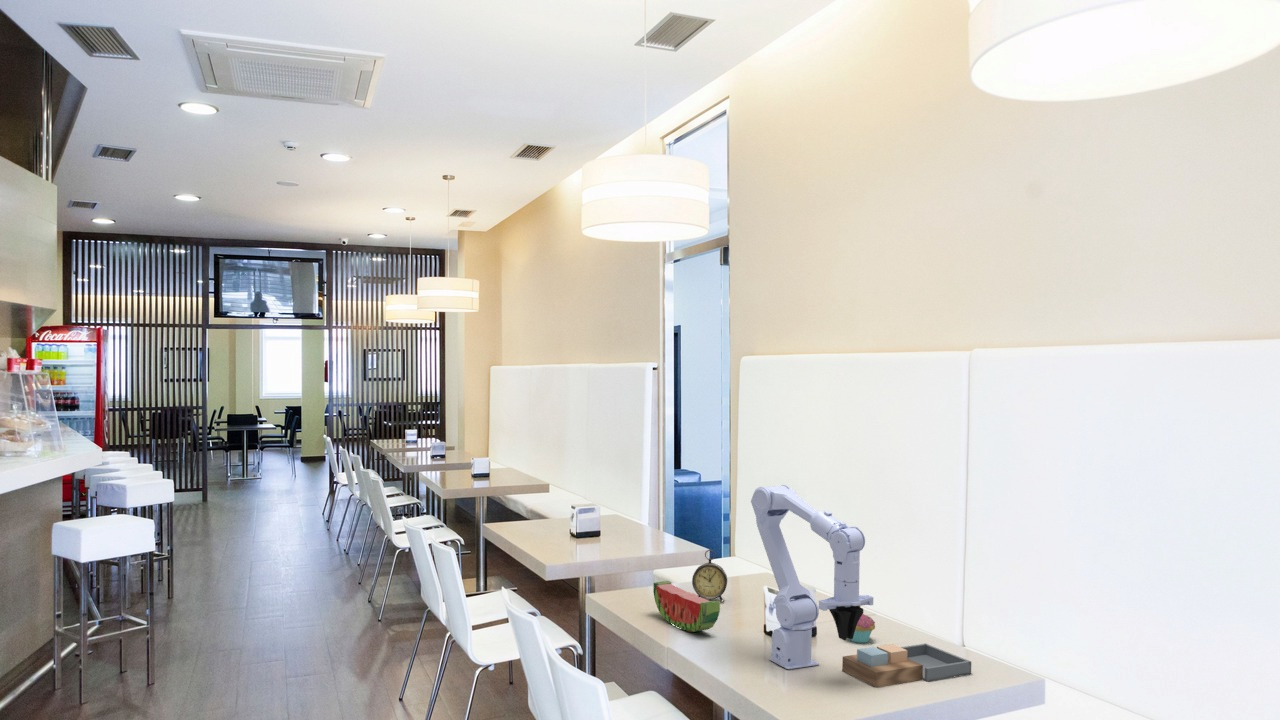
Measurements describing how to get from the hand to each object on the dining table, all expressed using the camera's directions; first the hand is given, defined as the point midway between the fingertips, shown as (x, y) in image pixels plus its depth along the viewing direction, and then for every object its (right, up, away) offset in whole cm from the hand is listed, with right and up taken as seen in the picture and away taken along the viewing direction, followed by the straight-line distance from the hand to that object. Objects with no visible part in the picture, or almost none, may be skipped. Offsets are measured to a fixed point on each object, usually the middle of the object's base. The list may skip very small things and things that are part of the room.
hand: (845, 638), depth 193 cm
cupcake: (+11, -11, +32) cm, 35 cm away
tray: (+22, -11, +10) cm, 27 cm away
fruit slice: (-35, -11, +40) cm, 55 cm away
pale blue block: (+7, -7, +3) cm, 10 cm away
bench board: (+10, -10, +4) cm, 15 cm away
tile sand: (+13, -7, +6) cm, 15 cm away
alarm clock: (-26, -12, +69) cm, 75 cm away
